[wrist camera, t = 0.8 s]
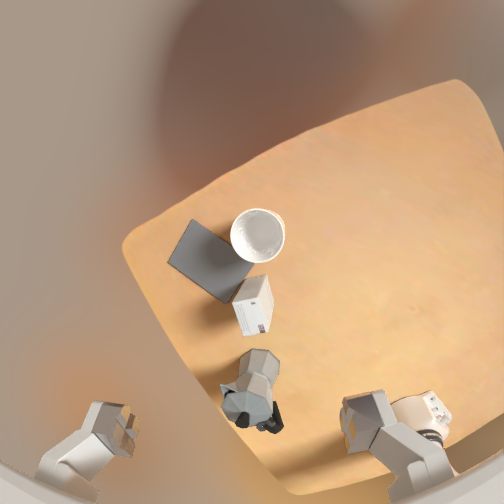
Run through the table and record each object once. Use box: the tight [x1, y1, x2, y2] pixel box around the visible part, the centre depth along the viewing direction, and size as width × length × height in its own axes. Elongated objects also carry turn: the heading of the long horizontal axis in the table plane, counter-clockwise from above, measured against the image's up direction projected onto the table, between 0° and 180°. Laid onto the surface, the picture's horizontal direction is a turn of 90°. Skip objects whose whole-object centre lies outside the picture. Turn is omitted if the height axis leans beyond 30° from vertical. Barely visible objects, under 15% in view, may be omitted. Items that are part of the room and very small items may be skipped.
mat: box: [168, 219, 254, 304], centre depth 54 cm, size 14×10×1 cm
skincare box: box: [232, 274, 274, 336], centre depth 48 cm, size 6×4×12 cm
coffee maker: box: [219, 349, 284, 434], centre depth 48 cm, size 15×9×18 cm, turn 44°
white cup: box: [230, 209, 285, 263], centre depth 46 cm, size 8×8×10 cm
